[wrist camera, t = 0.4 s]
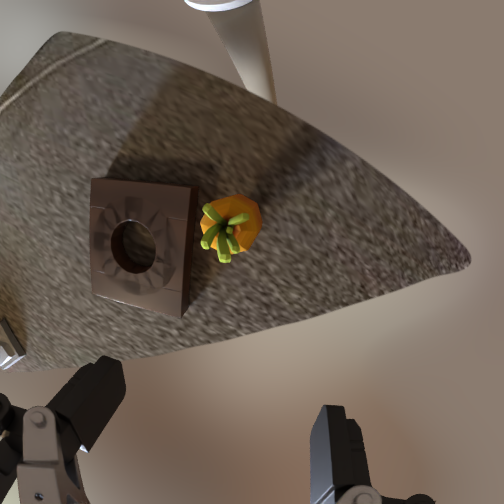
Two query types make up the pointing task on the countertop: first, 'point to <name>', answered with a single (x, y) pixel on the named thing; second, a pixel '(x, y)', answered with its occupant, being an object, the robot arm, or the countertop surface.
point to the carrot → (230, 225)
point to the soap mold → (8, 347)
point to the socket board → (164, 234)
